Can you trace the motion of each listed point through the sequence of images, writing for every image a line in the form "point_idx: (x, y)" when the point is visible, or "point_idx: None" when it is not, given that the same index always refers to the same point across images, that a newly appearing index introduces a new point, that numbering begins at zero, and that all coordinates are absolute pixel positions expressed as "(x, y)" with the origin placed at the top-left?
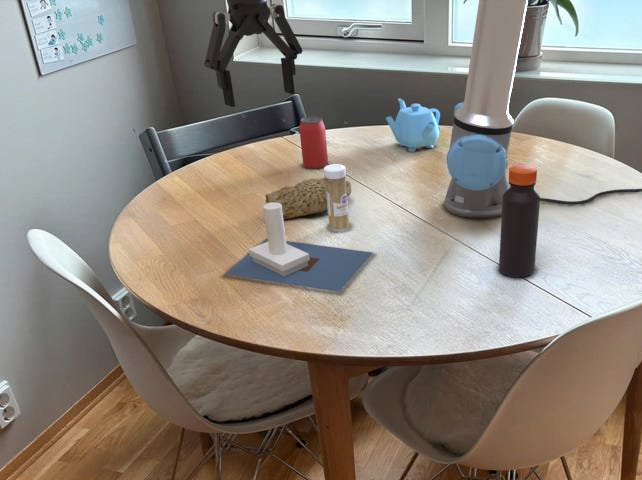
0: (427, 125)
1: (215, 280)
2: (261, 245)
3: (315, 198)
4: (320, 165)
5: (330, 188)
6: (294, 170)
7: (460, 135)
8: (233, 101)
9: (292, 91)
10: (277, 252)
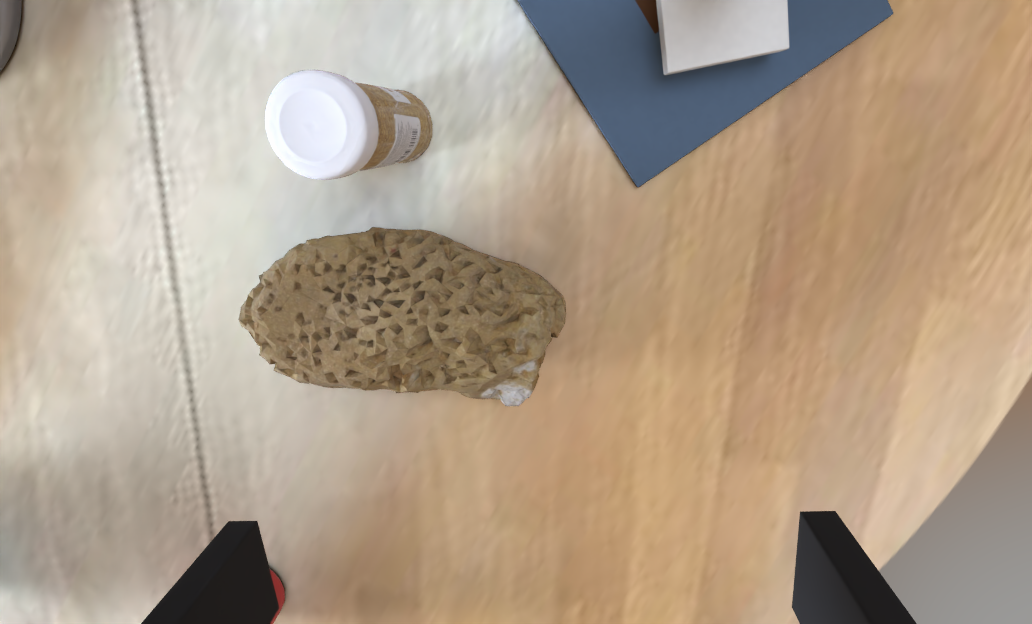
0: None
1: (926, 8)
2: (738, 47)
3: (409, 247)
4: None
5: (382, 104)
6: (321, 591)
7: None
8: (827, 540)
9: (235, 534)
10: None
